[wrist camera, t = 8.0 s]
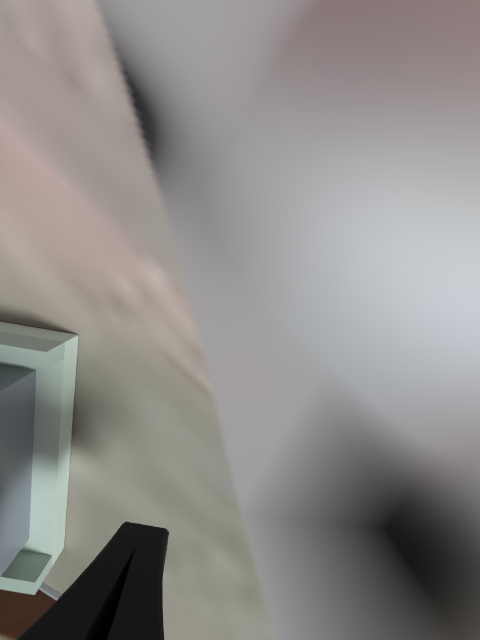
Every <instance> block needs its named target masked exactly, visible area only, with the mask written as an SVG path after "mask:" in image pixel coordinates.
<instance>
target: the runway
mask: <svg viewBox="0 0 480 640" xmlns="http://www.w3.org/2000/svg"><path fill="white" fill-rule="evenodd" d="M77 349H78V335H76V334H70V333H64V332H58V331H52V330H46V329H41V328H35V327H29V326H23V325H17V324H11V323H5V322H0V364H5V365H11V366H17V367H23V368H29V369H35V370H36V390H35V413H34V437H33V461H32V484H31V508H30V532H29V540H28V541H27V542H26V544H25V545H24V546H23V548H22V549H21V550H20V552H19V553H18V554H17V556H16V557H15V558H14V560H13V561H12V562H11V564H10V565H9V566H8V568H7V569H6V570H5V572H4V573H3V574H2V576H1V577H0V589H2V590H8V591H14V592H20V593H26V594H31V595H35V594H36V592H37V590H38V589H39V587H40V585H41V584H42V582H43V581H44V579H45V577H46V576H47V574H48V572H49V571H50V569H51V568H52V566H53V564H54V563H55V561H56V559H57V558H58V556H59V555H60V553H61V551H62V550H63V548H64V539H65V524H66V509H67V495H68V480H69V466H70V451H71V436H72V422H73V407H74V393H75V378H76V363H77Z"/></svg>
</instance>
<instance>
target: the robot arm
mask: <svg viewBox="0 0 480 640" xmlns="http://www.w3.org/2000/svg"><path fill="white" fill-rule="evenodd" d="M168 536H169V532H168V531H167V529H165V528H160V527H154V526H148V525H142V524H136V523H130V522H125V523H123V524H122V525H121V527H120V528H119V529H118V531H117V532H116V533H115V535H114V536H113V537H112V539H111V540H110V541H109V542H108V544H107V545H106V546H105V547H104V549H103V550H102V551H101V552H100V553H99V555H98V556H97V557H96V558H95V559H94V560H93V562H92V563H91V564H90V565H89V566H88V567H87V568H86V569H85V571H84V572H83V573H82V574H81V575H80V576H79V577H78V578H77V580H76V581H75V582H74V583H73V584H72V585H71V586H70V587H69V588H68V589H67V590H66V591H65V592H64V593H63V594H62V595H61V596H60V597H59V599H58V600H57V601H56V602H55V603H54V604H53V605H52V606H51V607H50V608H49V609H48V610H47V611H46V612H45V613H44V614H43V615H42V616H41V617H40V618H39V619H38V620H37V621H36V622H35V623H34V624H33V625H31V626H30V627H29V628H28V629H27V630H26V631H25V632H24V633H23V634H22V635H21V636H20V637H19V638H18V639H16V640H164V629H163V607H162V580H163V570H164V564H165V557H166V550H167V543H168Z"/></svg>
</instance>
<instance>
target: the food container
mask: <svg viewBox="0 0 480 640" xmlns="http://www.w3.org/2000/svg"><path fill="white" fill-rule="evenodd" d="M61 595H62V594H60V593H59V592H57V591H56V590H54V589H52V588H51V587H49V586H48V585H46V584H45V583H43V582H42V584H41V585H40V587H39V589H38V590H37V592H36V594H35V595H31V594H26V593H20V592H14V591H8V590H2V589H0V640H16V639H18V638H19V637H20V636H21V635H22V634H23V633H24V632H25V631H26V630H27V629H28V628H29V627H30V626H31V625H33V624H34V623H35V622H36V621H37V620H38V619H39V618H40V617H41V616H42V615H43V614H44V613H45V612H46V611H47V610H48V609H49V608H50V607H51V606H52V605H53V604H54V603H55V602H56V601H57V600H58V599H59V597H60V596H61Z"/></svg>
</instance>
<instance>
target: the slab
mask: <svg viewBox="0 0 480 640" xmlns="http://www.w3.org/2000/svg"><path fill="white" fill-rule="evenodd" d="M35 390H36V370H35V369H29V368H23V367H17V366H11V365H5V364H0V577H1V576H2V574H3V573H4V572H5V570H6V569H7V568H8V566H9V565H10V564H11V562H12V561H13V560H14V558H15V557H16V556H17V554H18V553H19V552H20V550H21V549H22V548H23V546H24V545H25V544H26V542H27V541H28V540H29V532H30V508H31V484H32V461H33V437H34V413H35Z"/></svg>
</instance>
